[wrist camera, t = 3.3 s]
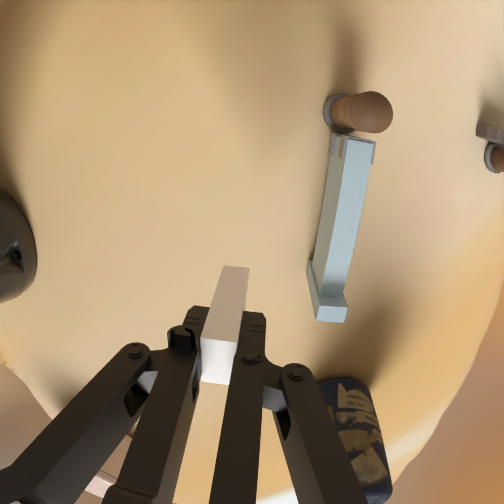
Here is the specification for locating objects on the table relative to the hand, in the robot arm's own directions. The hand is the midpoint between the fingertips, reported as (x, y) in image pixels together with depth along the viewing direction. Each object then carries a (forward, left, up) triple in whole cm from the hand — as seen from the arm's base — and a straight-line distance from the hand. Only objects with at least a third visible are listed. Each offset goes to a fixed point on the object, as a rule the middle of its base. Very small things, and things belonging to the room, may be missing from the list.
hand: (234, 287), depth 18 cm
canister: (+25, -6, -11) cm, 28 cm away
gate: (+3, +7, -10) cm, 13 cm away
